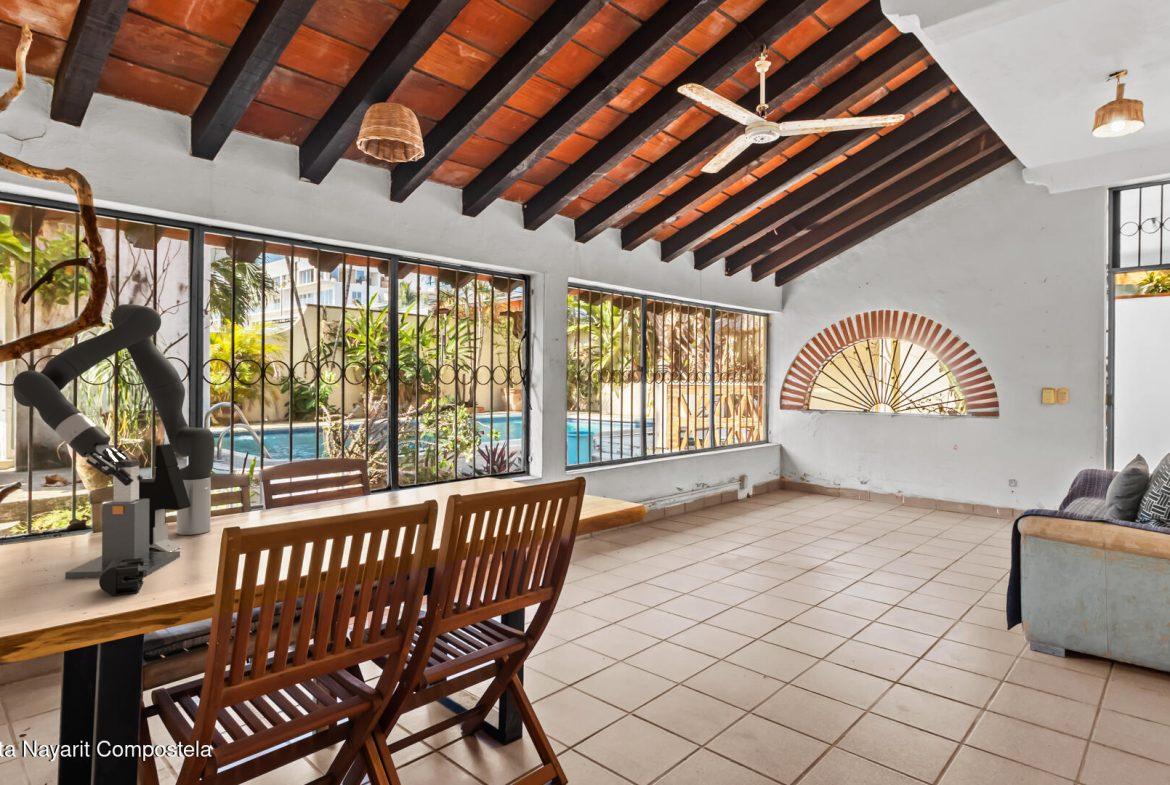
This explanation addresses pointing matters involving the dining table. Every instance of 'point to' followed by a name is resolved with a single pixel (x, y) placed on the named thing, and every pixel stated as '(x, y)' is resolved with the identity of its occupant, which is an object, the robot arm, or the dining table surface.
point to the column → (132, 490)
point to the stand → (124, 540)
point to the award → (163, 496)
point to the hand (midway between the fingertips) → (134, 481)
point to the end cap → (122, 577)
